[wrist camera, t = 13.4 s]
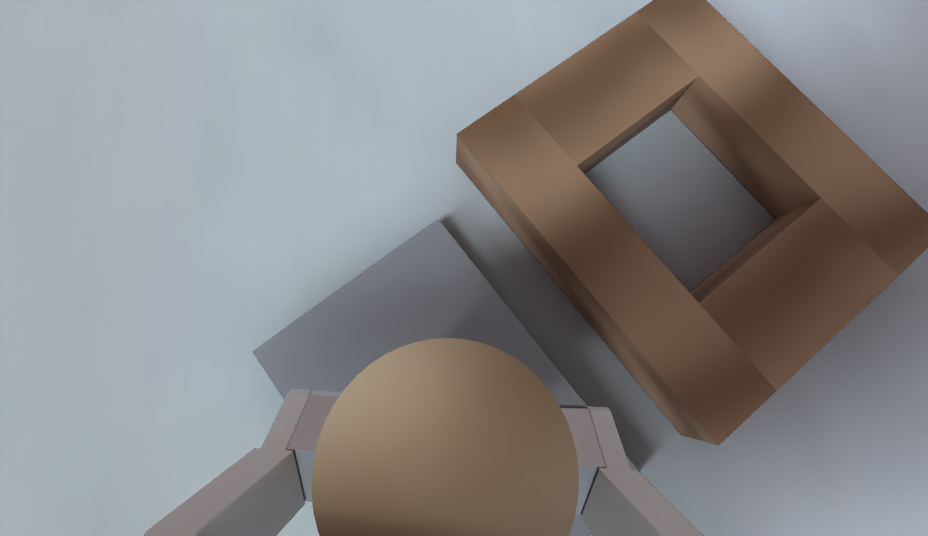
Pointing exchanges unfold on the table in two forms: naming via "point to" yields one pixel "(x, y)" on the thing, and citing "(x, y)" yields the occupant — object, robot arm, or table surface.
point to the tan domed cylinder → (445, 448)
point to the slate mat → (405, 322)
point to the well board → (748, 158)
